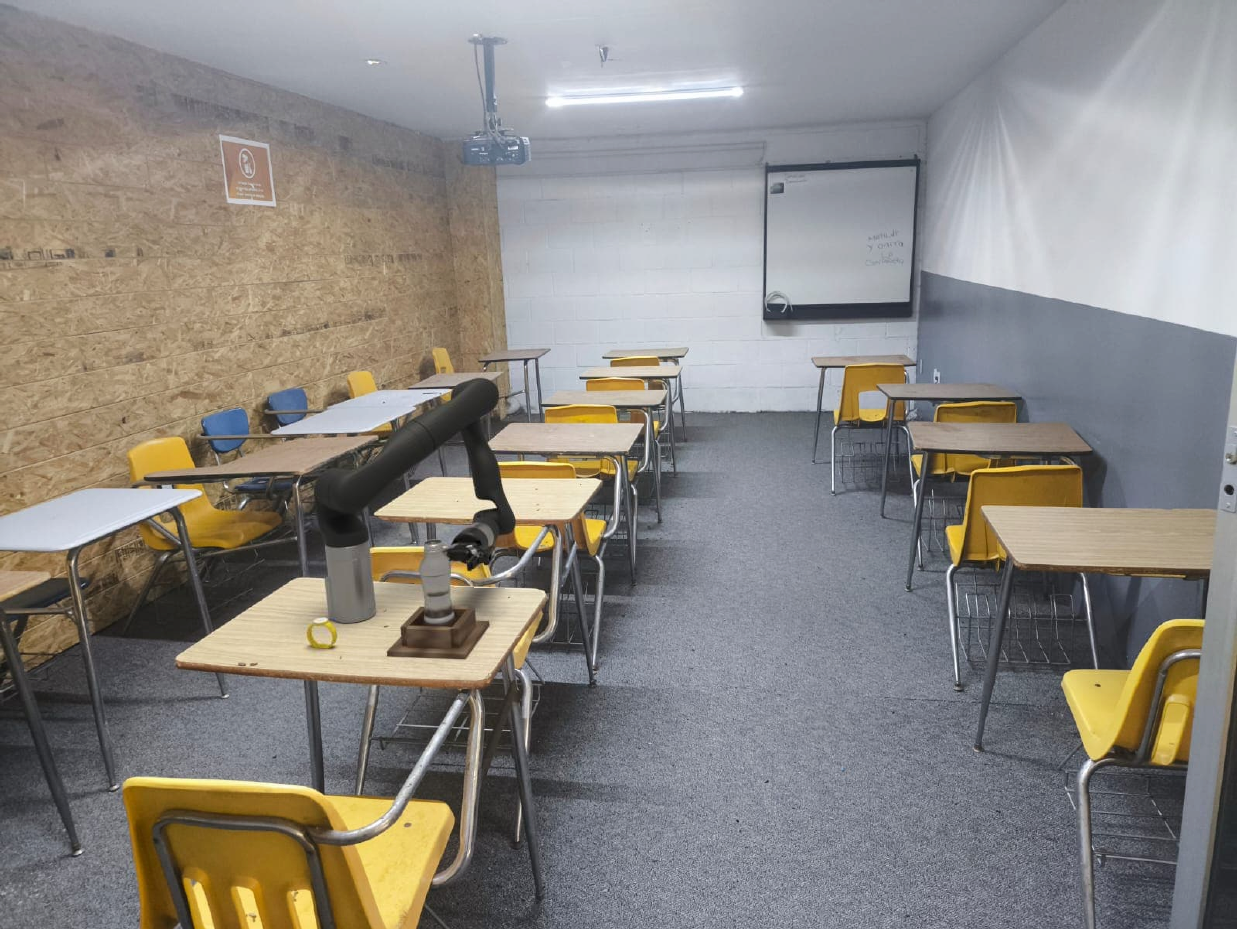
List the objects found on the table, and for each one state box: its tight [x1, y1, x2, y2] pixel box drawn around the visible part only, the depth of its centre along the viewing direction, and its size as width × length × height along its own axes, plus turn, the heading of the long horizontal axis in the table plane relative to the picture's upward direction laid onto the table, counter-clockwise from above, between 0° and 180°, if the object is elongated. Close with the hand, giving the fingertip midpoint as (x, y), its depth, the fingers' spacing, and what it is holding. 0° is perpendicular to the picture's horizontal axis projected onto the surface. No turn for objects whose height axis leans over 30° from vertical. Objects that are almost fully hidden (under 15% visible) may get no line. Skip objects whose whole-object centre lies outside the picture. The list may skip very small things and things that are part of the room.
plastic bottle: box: [418, 538, 456, 627], centre depth 160 cm, size 6×7×20 cm
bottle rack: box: [386, 605, 491, 660], centre depth 162 cm, size 16×16×5 cm
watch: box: [306, 617, 338, 650], centre depth 160 cm, size 6×3×6 cm, turn 80°
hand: (449, 566), depth 166 cm, fingers open, 8 cm apart
